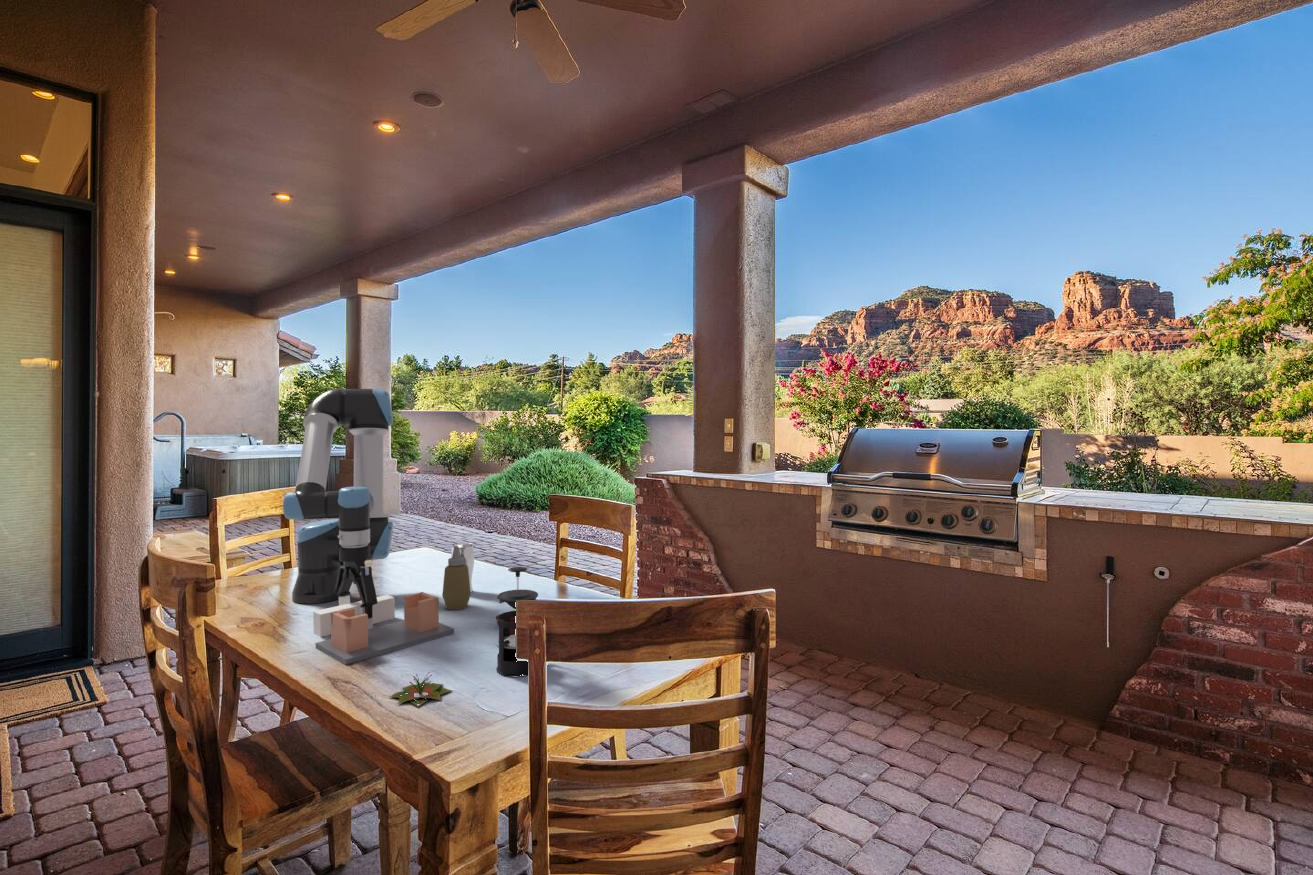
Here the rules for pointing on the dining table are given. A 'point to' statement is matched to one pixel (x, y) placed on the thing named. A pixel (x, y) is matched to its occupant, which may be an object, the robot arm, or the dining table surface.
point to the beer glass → (467, 558)
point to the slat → (380, 613)
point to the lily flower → (420, 691)
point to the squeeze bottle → (456, 582)
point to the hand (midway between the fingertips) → (355, 624)
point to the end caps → (383, 630)
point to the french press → (507, 641)
